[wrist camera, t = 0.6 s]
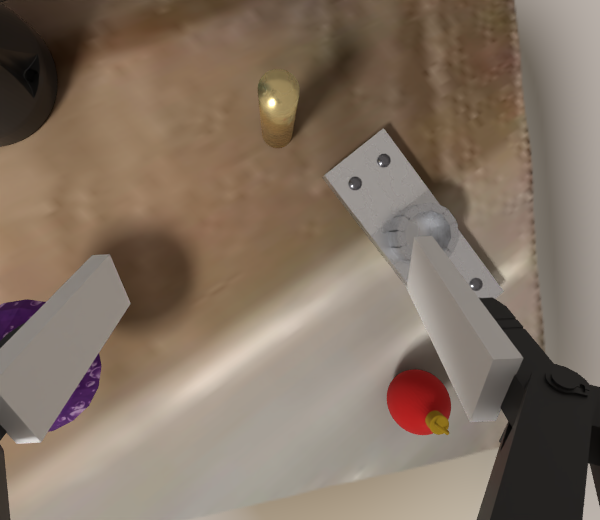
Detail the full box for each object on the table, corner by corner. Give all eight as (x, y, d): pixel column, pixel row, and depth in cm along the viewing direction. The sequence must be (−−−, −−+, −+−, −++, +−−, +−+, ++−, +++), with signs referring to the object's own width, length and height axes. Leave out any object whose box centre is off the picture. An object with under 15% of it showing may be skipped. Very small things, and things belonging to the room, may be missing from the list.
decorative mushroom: (140, 389, 40) (61, 477, 25) (30, 392, 39) (-122, 486, 24) (138, 286, 39) (56, 312, 24) (26, 287, 38) (-132, 314, 23)
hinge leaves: (322, 177, 40) (328, 169, 36) (379, 132, 41) (392, 118, 36) (442, 333, 42) (462, 344, 38) (495, 289, 43) (521, 295, 38)
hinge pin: (256, 129, 39) (249, 85, 28) (279, 111, 40) (282, 60, 29) (274, 154, 40) (275, 120, 29) (298, 135, 40) (307, 94, 29)
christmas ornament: (368, 395, 42) (397, 442, 32) (400, 350, 42) (439, 383, 32) (411, 425, 43) (452, 480, 33) (443, 380, 43) (494, 422, 33)
